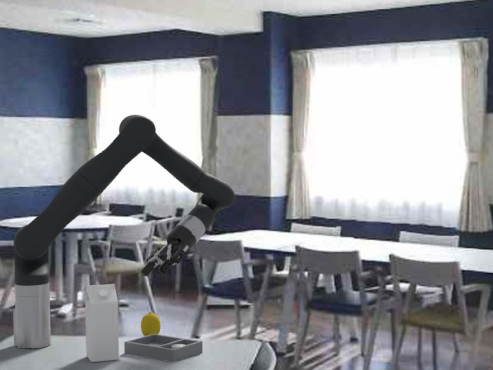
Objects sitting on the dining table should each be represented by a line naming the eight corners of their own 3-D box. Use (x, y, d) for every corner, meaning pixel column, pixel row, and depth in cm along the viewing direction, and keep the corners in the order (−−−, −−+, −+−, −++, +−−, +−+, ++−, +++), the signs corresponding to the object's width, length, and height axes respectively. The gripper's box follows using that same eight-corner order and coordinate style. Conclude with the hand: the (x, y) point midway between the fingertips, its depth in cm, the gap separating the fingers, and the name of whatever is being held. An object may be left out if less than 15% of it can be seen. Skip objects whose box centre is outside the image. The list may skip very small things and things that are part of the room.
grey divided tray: (124, 353, 219) (124, 341, 219) (154, 344, 228) (153, 333, 228) (173, 361, 209) (173, 350, 209) (202, 352, 218) (202, 341, 218)
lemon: (163, 341, 232) (162, 312, 232) (143, 342, 230) (143, 314, 230) (157, 337, 237) (157, 309, 237) (138, 338, 235) (138, 310, 235)
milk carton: (86, 356, 216) (84, 283, 215) (113, 353, 218) (112, 281, 217) (91, 362, 209) (89, 287, 208) (119, 360, 212) (117, 285, 211)
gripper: (164, 227, 239) (129, 265, 230) (193, 221, 229) (158, 261, 219) (179, 246, 242) (145, 284, 232) (208, 242, 231) (174, 281, 222)
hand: (151, 273), depth 226 cm, fingers open, 8 cm apart
